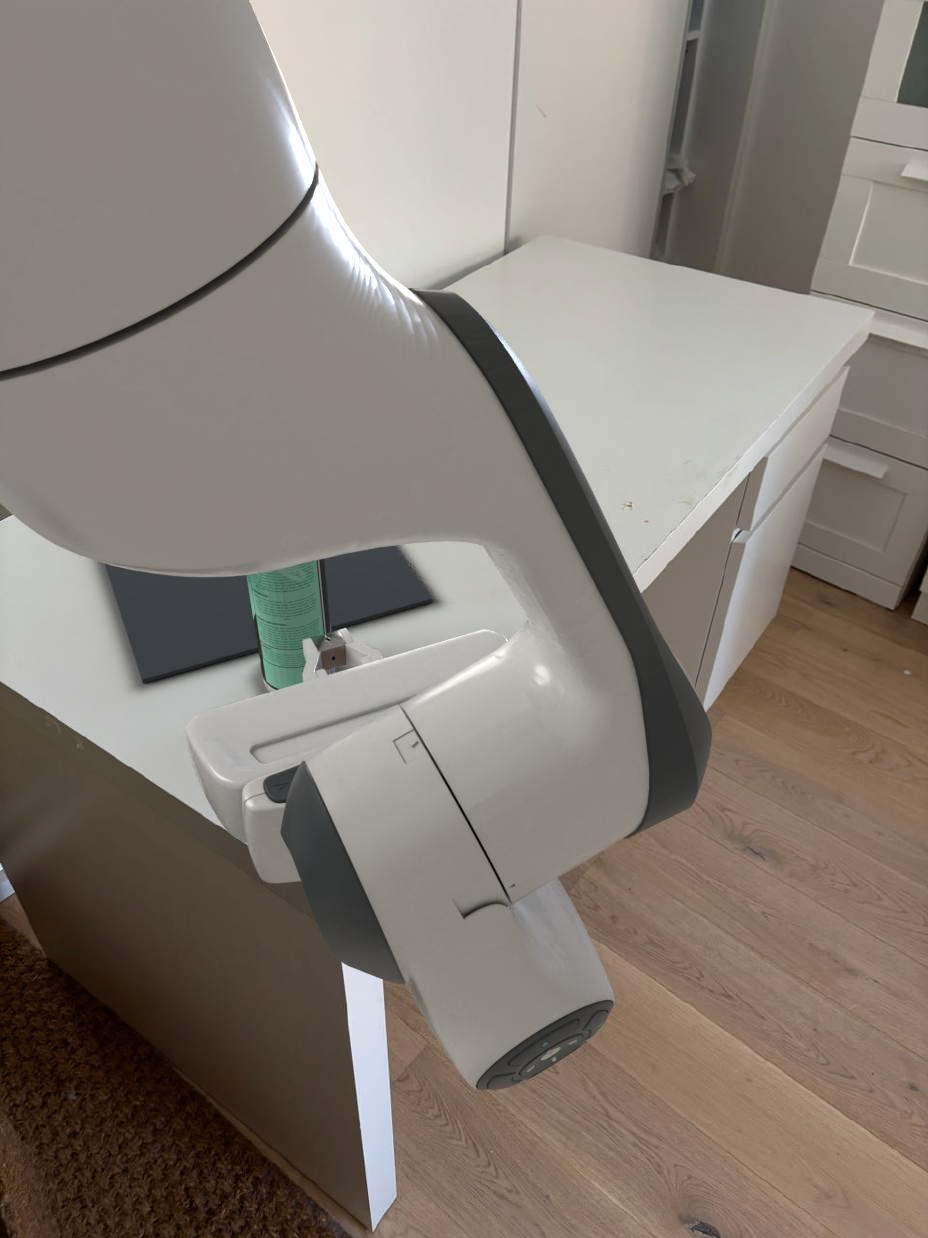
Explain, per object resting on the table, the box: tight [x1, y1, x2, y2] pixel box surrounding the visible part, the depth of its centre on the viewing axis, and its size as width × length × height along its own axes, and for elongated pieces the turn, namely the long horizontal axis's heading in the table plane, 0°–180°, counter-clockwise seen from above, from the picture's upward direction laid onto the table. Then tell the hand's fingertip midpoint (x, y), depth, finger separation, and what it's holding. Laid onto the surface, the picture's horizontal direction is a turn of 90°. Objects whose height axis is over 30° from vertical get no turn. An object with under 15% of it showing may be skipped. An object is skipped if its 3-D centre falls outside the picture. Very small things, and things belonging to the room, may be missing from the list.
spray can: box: [247, 558, 336, 692], centre depth 68 cm, size 6×6×20 cm
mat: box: [104, 545, 433, 684], centre depth 85 cm, size 24×24×1 cm
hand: (324, 641), depth 62 cm, fingers closed
